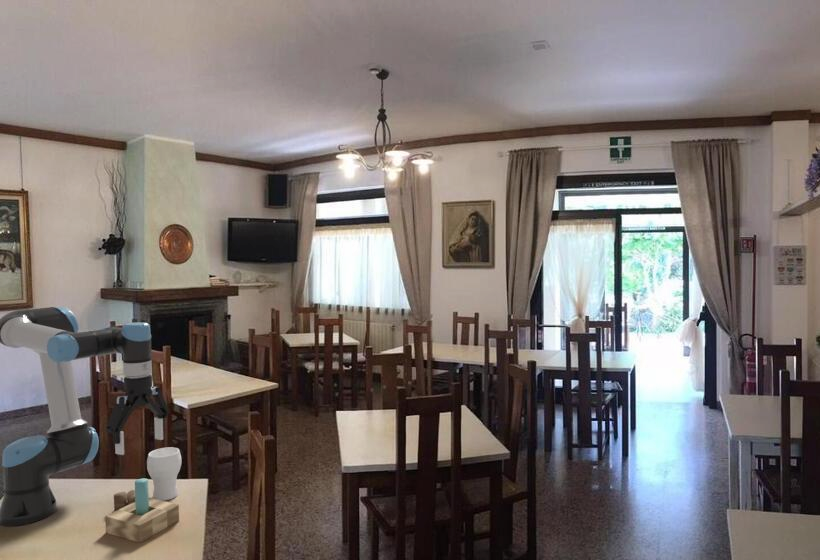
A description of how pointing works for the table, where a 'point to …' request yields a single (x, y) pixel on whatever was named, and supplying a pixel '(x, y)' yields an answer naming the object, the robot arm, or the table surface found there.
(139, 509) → the pin long
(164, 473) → the cup
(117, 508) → the pin short
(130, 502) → the pin medium
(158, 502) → the hole block
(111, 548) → the table surface
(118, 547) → the table surface
